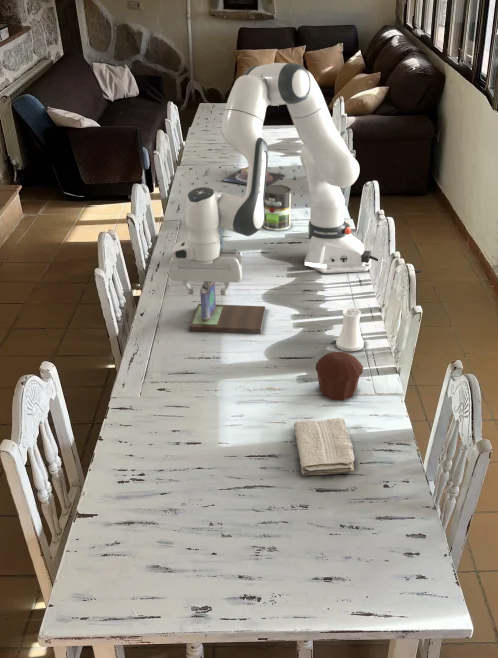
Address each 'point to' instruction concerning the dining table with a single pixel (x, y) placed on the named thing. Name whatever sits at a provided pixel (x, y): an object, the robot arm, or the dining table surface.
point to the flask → (207, 300)
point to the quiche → (243, 176)
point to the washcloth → (324, 447)
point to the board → (230, 319)
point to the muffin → (338, 375)
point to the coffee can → (277, 207)
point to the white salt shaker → (350, 331)
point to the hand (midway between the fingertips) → (207, 294)
